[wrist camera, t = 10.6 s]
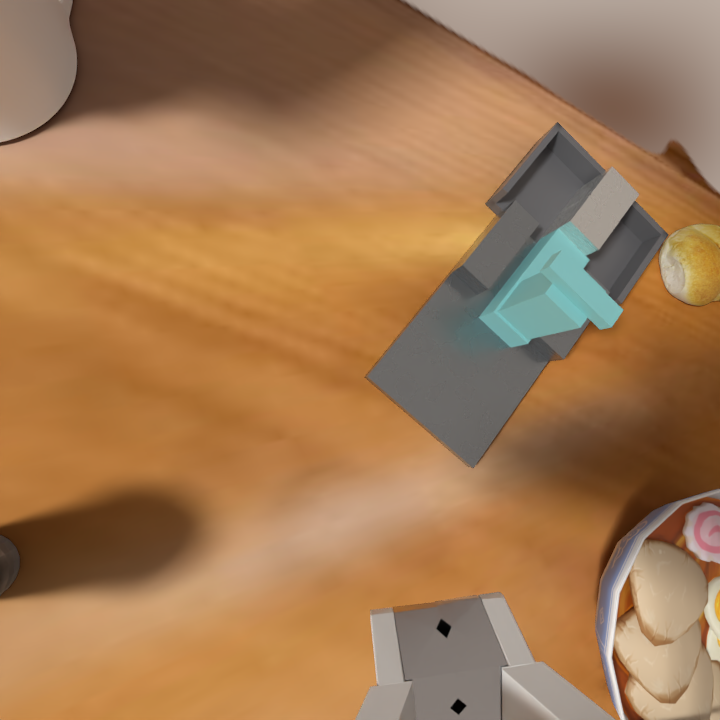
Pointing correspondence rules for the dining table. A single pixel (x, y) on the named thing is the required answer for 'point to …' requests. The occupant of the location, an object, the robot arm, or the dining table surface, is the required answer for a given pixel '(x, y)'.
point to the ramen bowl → (664, 614)
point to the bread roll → (692, 264)
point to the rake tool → (549, 295)
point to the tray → (555, 189)
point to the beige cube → (585, 224)
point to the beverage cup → (8, 563)
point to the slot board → (469, 347)
